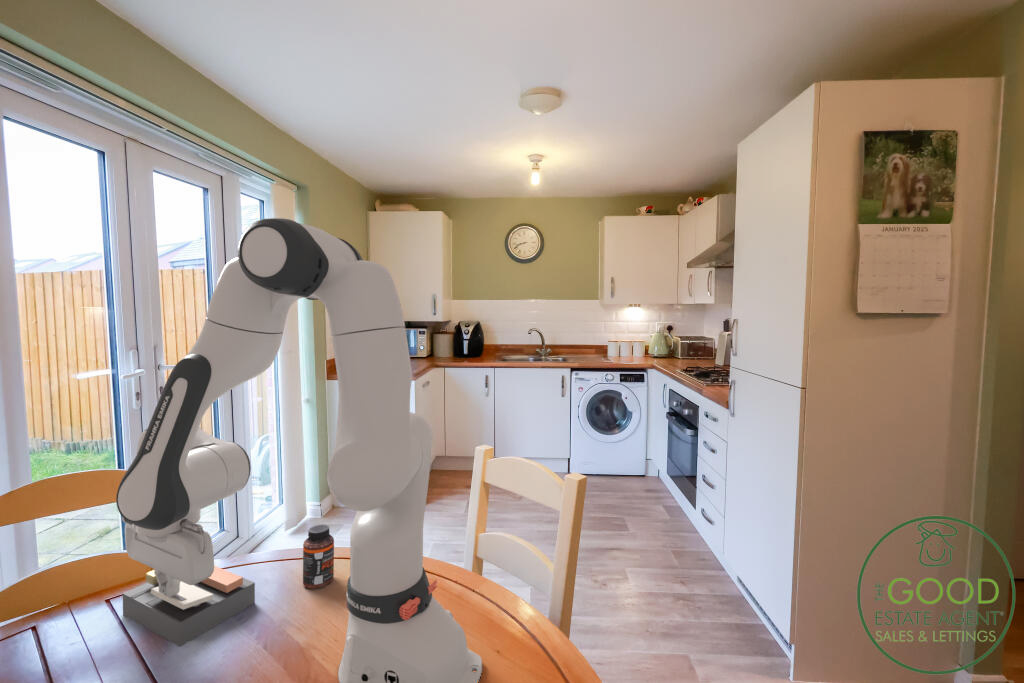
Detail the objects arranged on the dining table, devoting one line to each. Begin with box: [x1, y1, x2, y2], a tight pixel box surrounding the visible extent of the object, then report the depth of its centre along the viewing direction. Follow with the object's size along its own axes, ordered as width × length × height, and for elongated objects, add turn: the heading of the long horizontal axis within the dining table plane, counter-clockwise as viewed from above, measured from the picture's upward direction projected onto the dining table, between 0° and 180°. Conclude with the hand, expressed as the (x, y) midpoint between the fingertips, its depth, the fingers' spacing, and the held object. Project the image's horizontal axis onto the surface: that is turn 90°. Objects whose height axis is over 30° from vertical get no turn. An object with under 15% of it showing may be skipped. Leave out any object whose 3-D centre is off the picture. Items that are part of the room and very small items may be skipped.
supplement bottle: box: [302, 524, 335, 590], centre depth 92 cm, size 6×6×11 cm
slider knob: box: [145, 569, 159, 586], centre depth 83 cm, size 2×2×2 cm
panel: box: [122, 577, 256, 647], centre depth 82 cm, size 18×13×4 cm
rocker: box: [151, 581, 213, 610], centre depth 78 cm, size 10×5×1 cm, turn 64°
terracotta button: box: [201, 565, 244, 593], centre depth 84 cm, size 10×3×1 cm, turn 64°
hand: (169, 593), depth 76 cm, fingers closed
